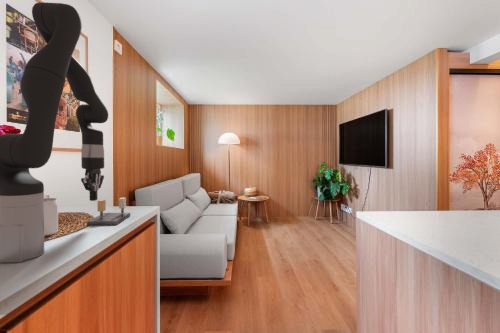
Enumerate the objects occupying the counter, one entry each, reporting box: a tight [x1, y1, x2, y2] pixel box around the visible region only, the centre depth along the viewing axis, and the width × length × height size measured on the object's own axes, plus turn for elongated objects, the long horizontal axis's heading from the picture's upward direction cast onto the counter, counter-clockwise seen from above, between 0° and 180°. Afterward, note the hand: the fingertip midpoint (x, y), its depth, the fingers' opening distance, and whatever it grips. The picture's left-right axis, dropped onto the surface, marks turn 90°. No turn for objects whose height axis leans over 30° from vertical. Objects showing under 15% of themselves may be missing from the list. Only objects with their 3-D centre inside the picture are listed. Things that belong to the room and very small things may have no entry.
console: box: [86, 212, 131, 226], centre depth 106 cm, size 15×11×2 cm
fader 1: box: [97, 199, 107, 217], centre depth 105 cm, size 3×2×7 cm
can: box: [44, 197, 59, 237], centre depth 87 cm, size 6×6×12 cm
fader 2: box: [118, 197, 127, 213], centre depth 111 cm, size 3×2×7 cm
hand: (93, 200), depth 98 cm, fingers closed
